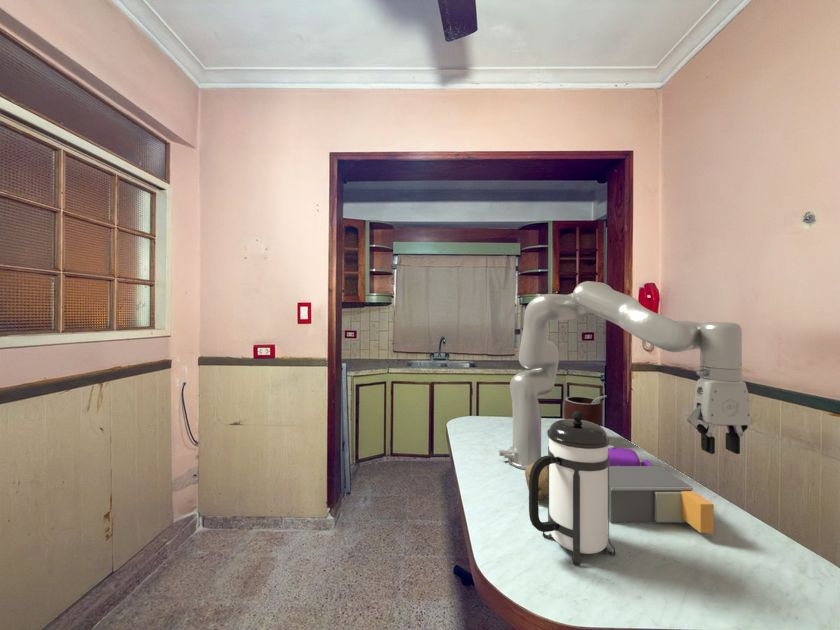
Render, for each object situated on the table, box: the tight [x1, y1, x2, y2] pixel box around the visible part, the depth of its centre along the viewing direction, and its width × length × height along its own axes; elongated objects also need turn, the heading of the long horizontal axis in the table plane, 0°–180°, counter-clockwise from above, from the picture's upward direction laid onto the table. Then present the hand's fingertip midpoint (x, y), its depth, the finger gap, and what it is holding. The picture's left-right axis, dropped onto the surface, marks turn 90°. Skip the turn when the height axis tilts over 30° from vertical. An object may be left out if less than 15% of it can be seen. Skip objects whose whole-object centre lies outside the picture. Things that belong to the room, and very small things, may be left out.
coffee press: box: [528, 411, 616, 566], centre depth 80 cm, size 17×16×30 cm
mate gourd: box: [563, 394, 607, 427], centre depth 144 cm, size 16×14×20 cm
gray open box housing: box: [609, 465, 694, 524], centre depth 94 cm, size 22×12×9 cm, turn 90°
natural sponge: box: [524, 462, 548, 500], centre depth 101 cm, size 9×9×10 cm
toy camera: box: [608, 444, 652, 466], centre depth 110 cm, size 11×14×10 cm
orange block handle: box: [655, 490, 715, 534], centre depth 85 cm, size 9×7×8 cm
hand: (720, 451), depth 84 cm, fingers open, 5 cm apart
